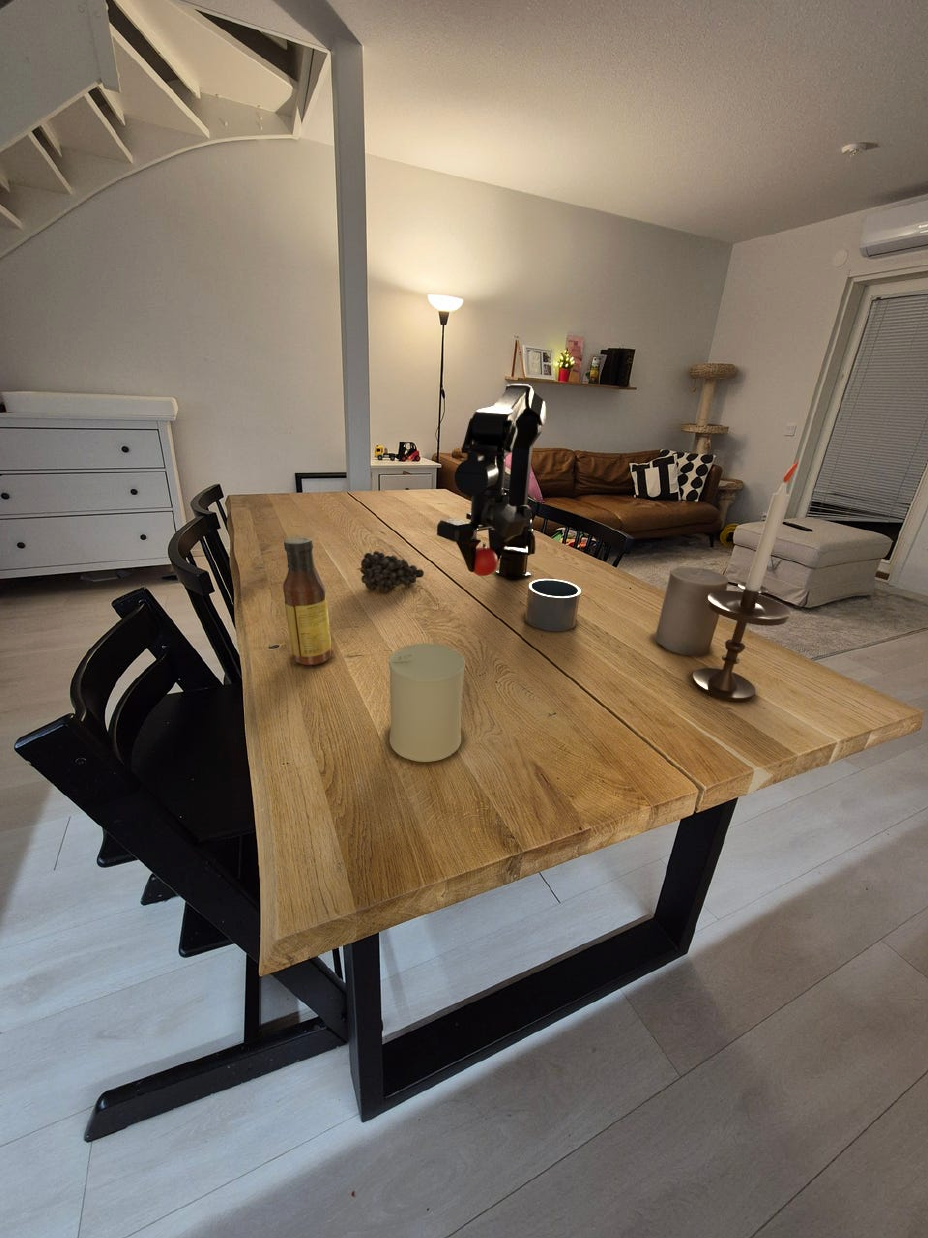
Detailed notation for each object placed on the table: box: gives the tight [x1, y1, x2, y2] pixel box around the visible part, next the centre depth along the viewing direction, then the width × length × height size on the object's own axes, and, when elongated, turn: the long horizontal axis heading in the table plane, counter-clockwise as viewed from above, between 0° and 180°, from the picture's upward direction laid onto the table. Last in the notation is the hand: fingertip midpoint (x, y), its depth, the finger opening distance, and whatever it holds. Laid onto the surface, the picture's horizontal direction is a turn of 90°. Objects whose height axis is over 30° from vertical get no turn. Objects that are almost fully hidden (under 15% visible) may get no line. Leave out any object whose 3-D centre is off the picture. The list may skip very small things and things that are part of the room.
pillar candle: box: [654, 565, 730, 656], centre depth 91 cm, size 10×10×15 cm
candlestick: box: [691, 459, 799, 704], centre depth 73 cm, size 11×11×35 cm
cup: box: [524, 578, 582, 632], centre depth 99 cm, size 10×10×7 cm
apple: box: [473, 542, 499, 577], centre depth 96 cm, size 6×6×6 cm
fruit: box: [356, 550, 425, 593], centre depth 111 cm, size 9×8×15 cm
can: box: [388, 642, 466, 763], centre depth 62 cm, size 9×9×12 cm
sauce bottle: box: [282, 536, 332, 666], centre depth 78 cm, size 7×6×20 cm
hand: (482, 569), depth 97 cm, fingers closed on apple, 5 cm apart
